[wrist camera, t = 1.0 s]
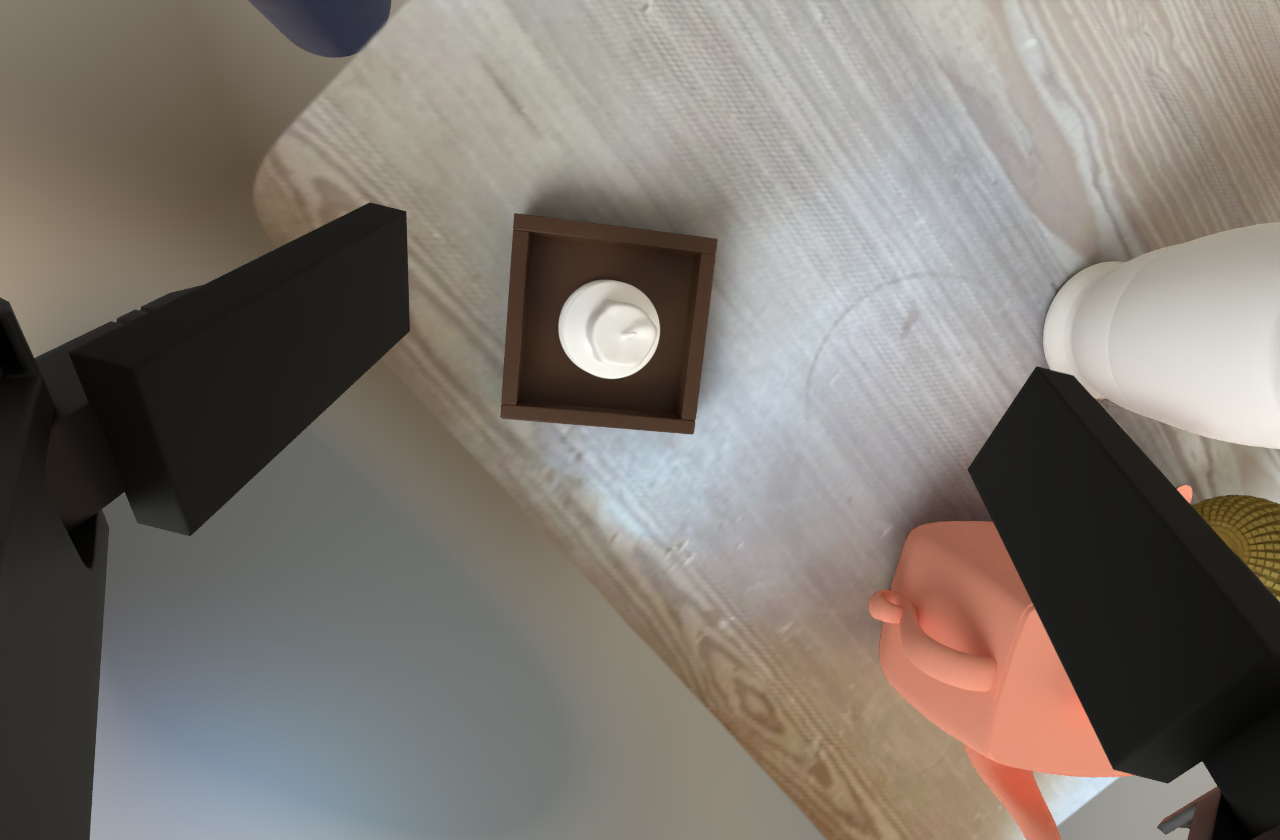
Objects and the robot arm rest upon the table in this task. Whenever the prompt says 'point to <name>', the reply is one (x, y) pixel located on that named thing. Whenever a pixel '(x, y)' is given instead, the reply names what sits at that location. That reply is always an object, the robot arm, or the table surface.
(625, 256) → the tray
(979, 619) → the teapot
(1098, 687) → the robot arm
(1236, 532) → the sculpture
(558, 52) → the table surface
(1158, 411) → the jar
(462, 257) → the table surface
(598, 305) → the candle
